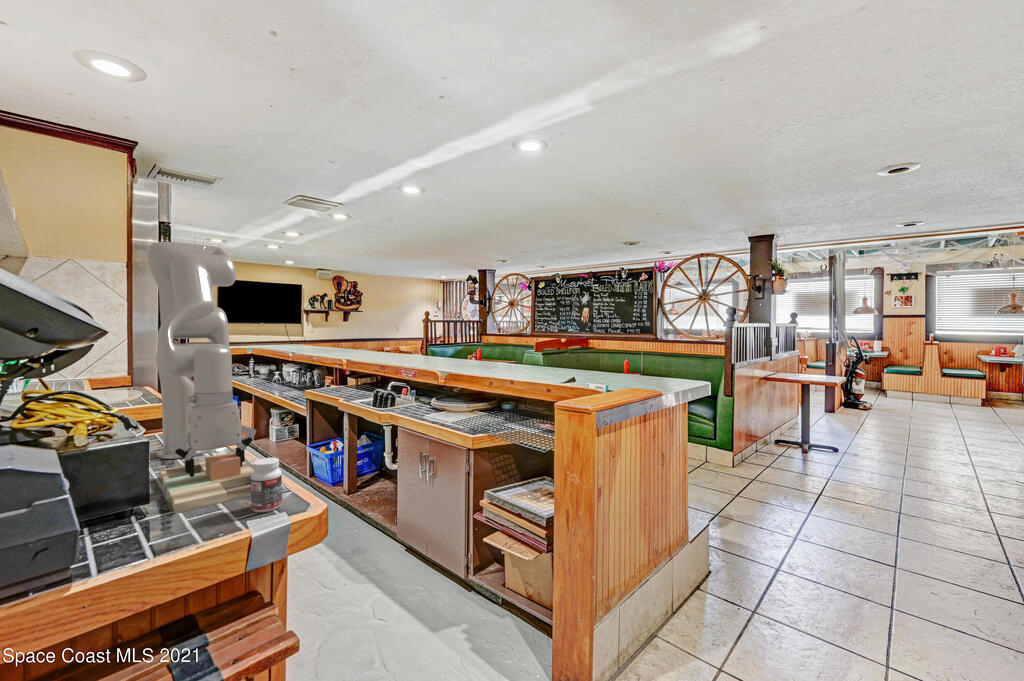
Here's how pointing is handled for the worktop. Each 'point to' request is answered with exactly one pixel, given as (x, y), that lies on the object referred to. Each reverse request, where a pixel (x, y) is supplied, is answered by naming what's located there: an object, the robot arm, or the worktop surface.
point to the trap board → (203, 487)
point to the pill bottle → (266, 485)
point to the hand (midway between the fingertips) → (216, 470)
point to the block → (222, 466)
